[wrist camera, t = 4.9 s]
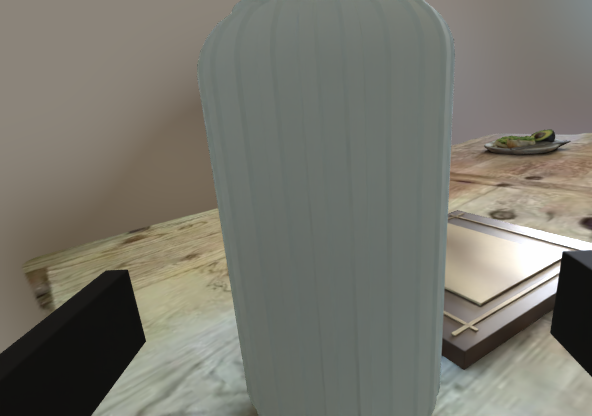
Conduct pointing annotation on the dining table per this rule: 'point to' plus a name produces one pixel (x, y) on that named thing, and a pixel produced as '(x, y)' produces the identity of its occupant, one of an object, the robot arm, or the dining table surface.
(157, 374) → the dining table surface
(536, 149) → the avocado toast plate
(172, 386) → the dining table surface
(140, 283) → the dining table surface
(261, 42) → the vase
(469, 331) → the picture frame
